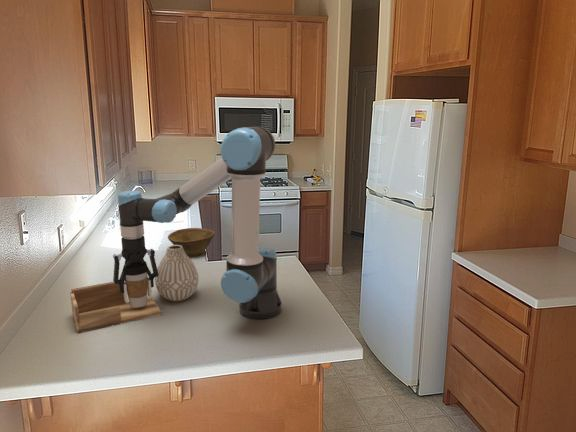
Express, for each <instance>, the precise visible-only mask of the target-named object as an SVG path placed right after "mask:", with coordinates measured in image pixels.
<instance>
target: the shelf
mask: <svg viewBox="0 0 576 432" xmlns="http://www.w3.org/2000/svg"><path fill="white" fill-rule="evenodd" d="M69 294H70V295H69V296H70V303H71V310H72V311H71V313H72V318H73V321H74V325H75V328H76V332H77V334H81V333H87V332H90V331H95V330H98V329H99V328H100V329H103V328H104V329H105V328H108V326H109V327H113V326H116V325H117V324H118V325H121V323H122V324H126V323H129V322H134V321H140V320H143V319H149V318H153V317H157V316H162V315H163V314H162V312H163V311H162V310H161V309H160V307H159V305H158V304H157V303H156V301H155V300H154V299H153V296H152V297H147V304H146V305H145V306H142V307H137V308H134V307H131V306H130V305H129V301H128V302H125V301H124V294H123V293H121V292H120V286H119V284H115V283H114V281H109V282H104V283H97V284H93V285H88V286H82V287H76V288H71V291H69ZM112 325H113V326H112Z"/></svg>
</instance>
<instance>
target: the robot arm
mask: <svg viewBox="0 0 576 432" xmlns="http://www.w3.org/2000/svg"><path fill="white" fill-rule="evenodd" d="M275 150H276V141H275V137H274V135H273V134H272V132H271V131H270V130H269V129H267V128H265V127H263V126H259V125H255V126H247V127H237V128H236V129H233V130H232V131H231V130H230V132H228V133H227V134H226V135H225V136H224V138H223V140H222V142H221V146H220V155H221V157H220V158H219V159H218V160H216V161H215V162H213V163H212V164H211V165H209V166H208V167H207V168H205V169H203V170H202V171H201V172H200V173H198V174H197V175H195V176H193V178H191V179H189V180H188V181H187V182H185V183H184V184H182V185H181V186H180V187H178V188H177V189H176V190H174V191H173V192H171V193H169V194H168V193H167V194H166V195H163V196H161V197H160V196H159V197H157V198H143V196H142V192H141V191H138V190H126V191H125V190H124V191H121V192H119V193H118V195H117V206H118V214H119V223H120V224H119V226H120V236H121V249H122V250H121V252H120V253H118V254H113V255H112V257H113V260H114V265H113V266H114V267H113V277H112V278H113V280H112V282H114V283H115V284H119V286H120V292H121V293H123V294H124V301H125V302H129V299H128V294H127V288H126V283H125V278H126V275H125V273H124V272H123V269H122V271H121V274H120V261H121V259H122V258H123V259H124V260H125V261H124V265H123V266H124V267H125V268H129V267H130V265H131V264H132V263H135V262H141V264H142V265H144V264H146V263H147V262H146V263H145V259H144V258H145V256H146V255H148V257H149V260H150V264H151V265H150V266H151V268H152V271H151V270H150V268H149V266H148V265H147V268H148V271H147V276H148V280H147V297H148V298H150V297H152V298H153V295H152V288H154V286H155V285H154V282H155V277H158V271H157V268H158V266H157V263H156V259H155V256H156V255H155V254H156V251H155V250H154V249H153V248H150V249H147V248H146V240H145V228H144V222H153V223H158V224H165V223H167V224H168V223H169V224H170V223H172V222H173V221H174V219H175V218H176V216H177V215H179V214H180V213H184V212H186V211H188V210H189V209H190V208H191V207H192V206H193V205H194V204H196V203H197V202H199V201H200V200H201V199H203V198H204V197H206V196H207V195H209V194H210V193H212V192H213V191H215V190H216V189H218V188H220V187H221V186H222V185H224V184H226V183H227V182H228V181H229V180H230V181H231V237H230V238H231V240H230V241H231V242H230V243H231V244H230V246H231V248H230V250H231V252H230V253H229V255H227V256H226V264H225V265H226V271H225V272H224V273H223V275H222V276H221V278H220V286H221V287H220V288H221V290H222V291H223V294H224V295H225V296H226V297H227V299H229V300H230V301H233V302H236V303H239V304H238V311H239V314H240V315H241V316H243V317H245V318H248V319H254V320H263V319H270V318H274V317H276V316H278V315H280V314H281V312H282V311H283V309H282V308H283V307H282V305H283V304H282V300H281V297H280V294H279V292H278V290H277V283H278V281H277V280H278V279H277V269H278V268H277V266H278V265H277V259H278V257H277V251H276V250H275V249H274V248H272V247H267V246H260V205H261V204H260V201H261V199H260V198H261V179H262V178H263V177H264V176H265V175H266V166H267V165H266V164H267V163H266V162H267V161H269V160H270V158H272V157H273V155H274V153H275ZM124 271H125V270H124ZM119 275H120V277H119Z"/></svg>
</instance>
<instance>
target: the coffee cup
mask: <svg viewBox="0 0 576 432" xmlns="http://www.w3.org/2000/svg"><path fill="white" fill-rule="evenodd" d="M144 261H145V260H144ZM145 263H146V264H144V265H142V264H141V262H135V263H132V264H131V265H130V267H129V268H125V267H124V265H123V266H122V267H123V268H122V270H123V272H124V273H125V275H126V278H125V281H124V282H125V283H126V288H127V299H128V302H129V305H130V306H131V307H134V308H137V307H142V306H145V305H146V304H147V298H148V291H147V280H148V278H149V276H148V275H147V271H148V268H149V267H148V268H147V266H148V263H147V261H145ZM124 270H125V271H124Z"/></svg>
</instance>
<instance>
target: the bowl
mask: <svg viewBox="0 0 576 432" xmlns="http://www.w3.org/2000/svg"><path fill="white" fill-rule="evenodd" d="M214 236H215V231H214V230H212V229H208V228H201V227H200V228H199V227H187V228H181V229H180V228H179V229H177V230H174V231H173V232H171V233H169V234H168V236H167V239H168V241H170V243H171V244H172V245H181V246H182V247H183V249H184V251H185V253H186V255H187V256H188V257H199V256H202V254H203V253H204V252H205V250H206V249H207V248H208V246H209V245H210V244H211V242H212V241H213V238H214Z"/></svg>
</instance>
